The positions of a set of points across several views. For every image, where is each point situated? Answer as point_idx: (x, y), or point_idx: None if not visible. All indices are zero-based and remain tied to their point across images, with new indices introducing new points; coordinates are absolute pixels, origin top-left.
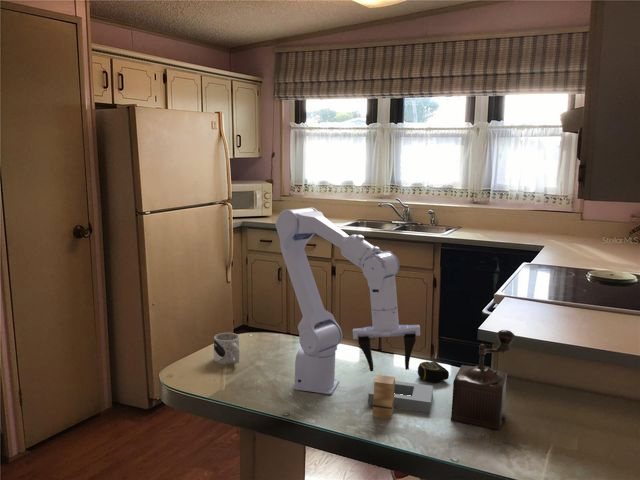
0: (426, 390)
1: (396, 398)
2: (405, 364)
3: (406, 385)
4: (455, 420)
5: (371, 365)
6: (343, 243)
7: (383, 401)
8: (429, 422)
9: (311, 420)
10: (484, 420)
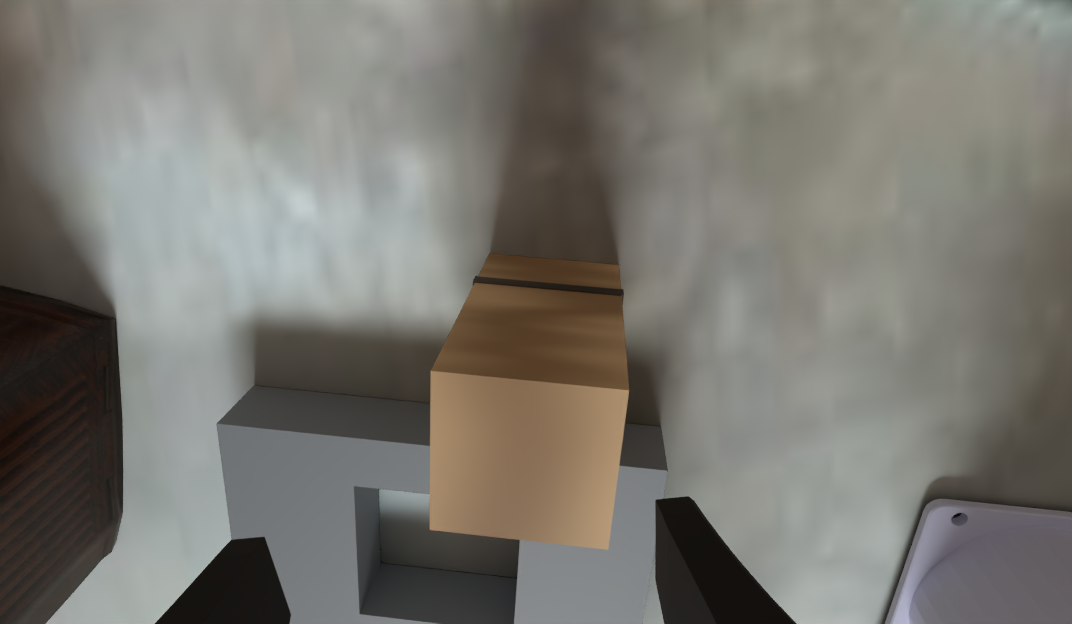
0: None
1: None
2: (233, 580)
3: (411, 620)
4: (82, 311)
5: (689, 540)
6: None
7: (537, 303)
8: (236, 263)
9: None
10: None
